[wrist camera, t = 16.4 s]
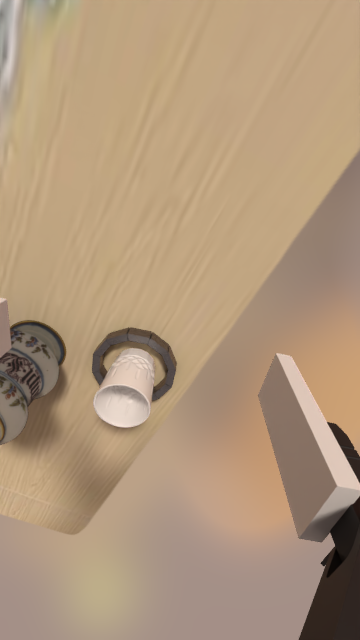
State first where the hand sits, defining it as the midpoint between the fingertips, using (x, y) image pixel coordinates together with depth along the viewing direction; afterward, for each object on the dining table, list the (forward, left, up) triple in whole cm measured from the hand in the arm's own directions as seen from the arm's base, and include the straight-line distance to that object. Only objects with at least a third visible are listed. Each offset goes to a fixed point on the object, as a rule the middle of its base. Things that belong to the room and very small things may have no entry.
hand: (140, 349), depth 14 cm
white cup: (-21, +3, -27) cm, 34 cm away
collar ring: (-21, +3, -27) cm, 34 cm away
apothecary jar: (-21, +20, -27) cm, 40 cm away
